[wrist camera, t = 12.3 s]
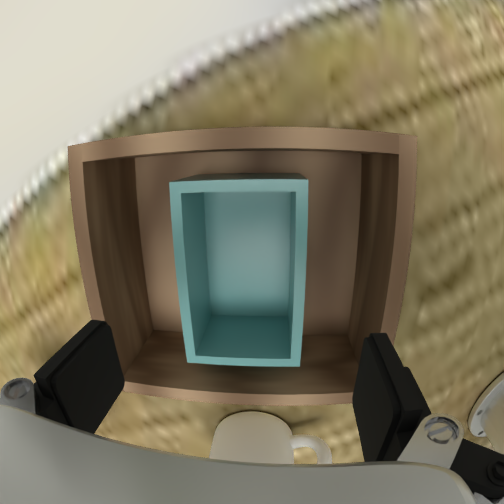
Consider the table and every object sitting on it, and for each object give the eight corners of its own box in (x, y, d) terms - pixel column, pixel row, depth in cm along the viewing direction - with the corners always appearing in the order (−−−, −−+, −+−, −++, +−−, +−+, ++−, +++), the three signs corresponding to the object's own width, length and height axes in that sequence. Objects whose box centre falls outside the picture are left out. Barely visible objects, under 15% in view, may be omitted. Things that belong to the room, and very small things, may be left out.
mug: (317, 391, 27) (328, 479, 18) (334, 439, 30) (344, 515, 20) (202, 415, 29) (181, 495, 20) (233, 458, 32) (222, 530, 22)
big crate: (370, 140, 21) (416, 136, 13) (354, 338, 25) (378, 400, 18) (128, 145, 22) (67, 146, 14) (148, 332, 27) (112, 389, 19)
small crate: (299, 173, 21) (308, 179, 15) (295, 319, 24) (299, 366, 18) (196, 174, 21) (169, 182, 16) (205, 317, 25) (187, 362, 19)
